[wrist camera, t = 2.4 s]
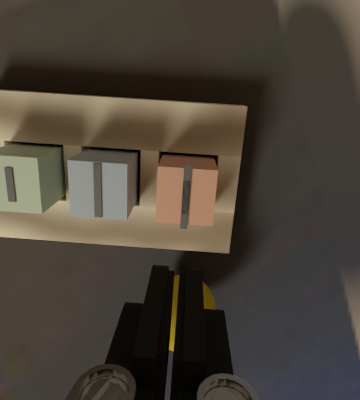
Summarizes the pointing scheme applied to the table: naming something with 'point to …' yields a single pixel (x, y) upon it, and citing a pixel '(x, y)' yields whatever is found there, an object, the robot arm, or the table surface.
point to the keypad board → (150, 157)
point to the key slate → (103, 183)
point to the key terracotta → (186, 190)
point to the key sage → (31, 177)
